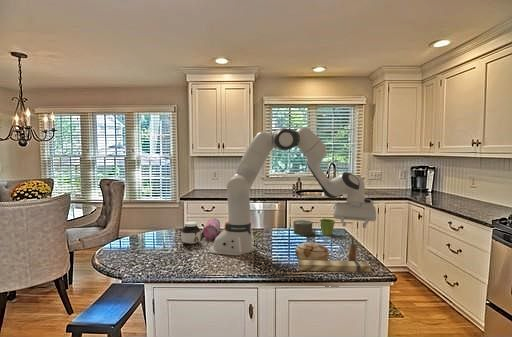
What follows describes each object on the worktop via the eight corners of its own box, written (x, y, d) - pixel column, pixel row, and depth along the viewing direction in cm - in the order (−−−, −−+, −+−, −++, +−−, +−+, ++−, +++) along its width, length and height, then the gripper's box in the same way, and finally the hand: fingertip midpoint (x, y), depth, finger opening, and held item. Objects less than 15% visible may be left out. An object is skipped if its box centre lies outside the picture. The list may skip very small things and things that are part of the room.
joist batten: (298, 270, 136) (298, 264, 136) (298, 265, 142) (298, 259, 142) (370, 272, 134) (370, 266, 134) (367, 267, 140) (367, 261, 140)
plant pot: (336, 236, 193) (336, 222, 192) (321, 236, 193) (321, 222, 193) (333, 232, 202) (333, 219, 202) (318, 232, 202) (318, 219, 202)
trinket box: (293, 255, 157) (293, 239, 156) (324, 255, 157) (324, 239, 157) (298, 265, 143) (298, 247, 143) (331, 264, 144) (331, 247, 143)
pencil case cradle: (198, 239, 186) (197, 234, 186) (207, 230, 209) (207, 225, 209) (220, 240, 185) (220, 234, 185) (227, 230, 208) (227, 226, 208)
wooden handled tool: (349, 263, 145) (349, 237, 144) (348, 261, 148) (348, 236, 147) (356, 263, 145) (356, 237, 144) (354, 261, 148) (355, 236, 147)
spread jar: (185, 246, 172) (185, 225, 171) (176, 242, 180) (176, 221, 180) (205, 242, 179) (205, 222, 179) (195, 238, 188) (195, 219, 187)
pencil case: (217, 240, 186) (217, 224, 185) (201, 240, 185) (201, 224, 185) (221, 231, 207) (221, 217, 206) (206, 231, 207) (206, 217, 206)
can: (316, 233, 199) (316, 223, 199) (300, 236, 194) (301, 225, 193) (304, 229, 210) (304, 219, 210) (289, 232, 204) (289, 221, 204)
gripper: (334, 198, 165) (331, 221, 157) (376, 200, 158) (376, 224, 150) (335, 206, 170) (332, 228, 161) (376, 208, 163) (376, 231, 154)
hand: (354, 226), depth 155 cm, fingers open, 8 cm apart
